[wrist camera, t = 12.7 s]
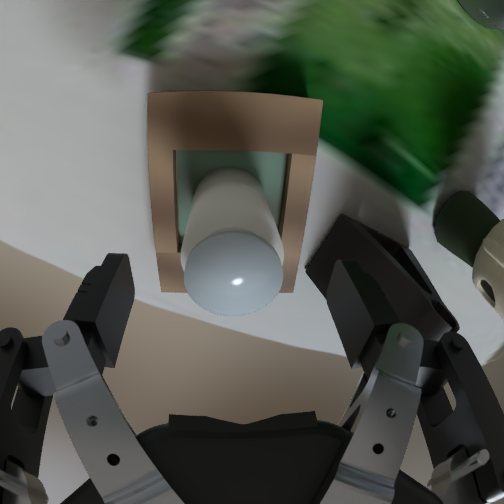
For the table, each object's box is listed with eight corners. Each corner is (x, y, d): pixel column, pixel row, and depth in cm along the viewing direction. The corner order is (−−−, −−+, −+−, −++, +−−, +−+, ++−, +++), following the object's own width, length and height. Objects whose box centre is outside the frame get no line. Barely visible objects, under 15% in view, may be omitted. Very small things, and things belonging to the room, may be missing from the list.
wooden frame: (159, 92, 16) (147, 93, 14) (308, 98, 18) (323, 100, 15) (167, 267, 24) (161, 292, 21) (285, 268, 25) (293, 292, 22)
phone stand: (409, 248, 25) (480, 336, 15) (375, 294, 28) (426, 388, 18) (340, 212, 23) (417, 316, 12) (304, 269, 25) (347, 386, 15)
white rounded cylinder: (193, 166, 17) (172, 228, 10) (267, 167, 18) (298, 230, 11) (194, 231, 20) (181, 320, 13) (261, 232, 20) (282, 319, 13)
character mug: (404, 225, 24) (492, 324, 13) (442, 160, 21) (553, 232, 10) (459, 260, 27) (525, 338, 16) (490, 210, 24) (568, 277, 13)
